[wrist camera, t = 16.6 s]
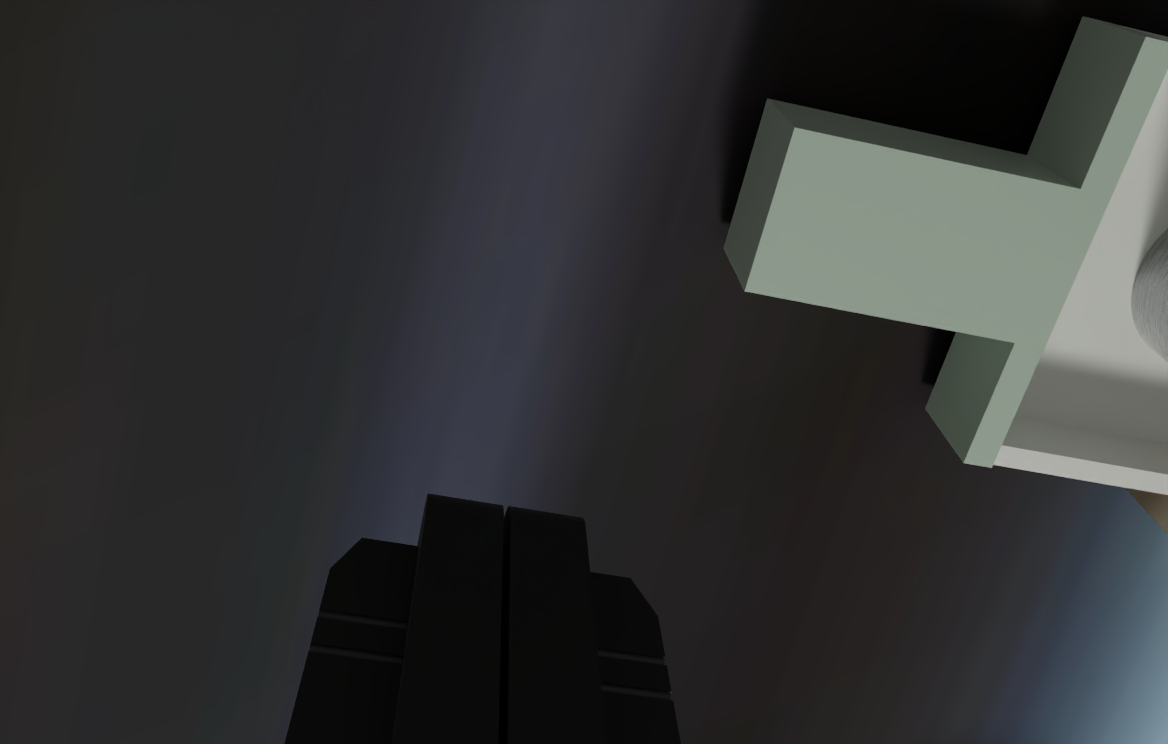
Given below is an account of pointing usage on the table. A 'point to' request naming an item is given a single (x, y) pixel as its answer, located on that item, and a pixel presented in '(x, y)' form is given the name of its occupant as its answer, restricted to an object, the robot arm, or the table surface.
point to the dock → (1153, 505)
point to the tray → (992, 257)
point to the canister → (1153, 297)
